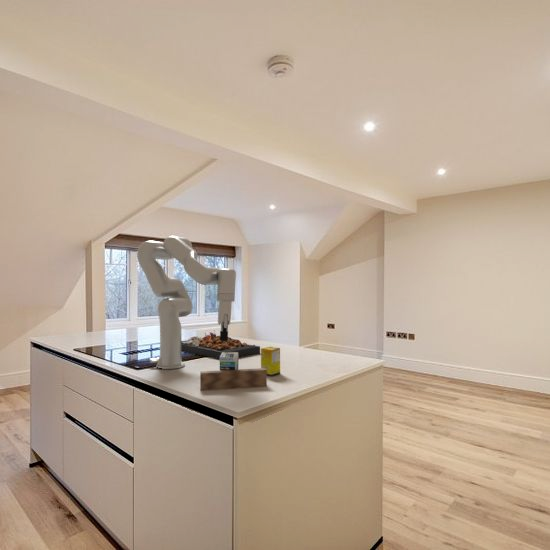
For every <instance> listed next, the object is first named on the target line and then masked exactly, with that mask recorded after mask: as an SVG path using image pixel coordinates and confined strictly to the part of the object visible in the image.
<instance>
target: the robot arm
mask: <svg viewBox="0 0 550 550" xmlns="http://www.w3.org/2000/svg"><path fill="white" fill-rule="evenodd" d="M136 257H137V261H138V264H139V266H140V267H141V269H142V271H143V273H144V275H145V277H146V279H147V281H148V284H149V285H150V288H151V291H152V292H153V294H154V296H155V297H157V298H161V299H162V298H163V299H162V300H160V301H159V303H158V305H157V313H158V318H159V356H158V357H155V358H150V357H149V363H150V364H151V363H152V364H156V365H155V366H156V368H157V367H158V368H157V369H159V368H162V369H161V370H175V369H181V368H183V367H185V366H186V362H184V361H182V351H181V341H182V335H183V333H182V324H181V321H180V318H183V317H187V316H190V314H191V313H192V311H193V303H192V300H191V298H190V295H189V293H188V291H187V290H186V287H185V285H184V283H183V282H182V281H181V280H180V279H179V278H178V277H168V276H167V274H166V272H165V270H164V268H163V266H162V265H161V264H160V263H159V262H158V261H157V260H162V261H165V260H172V259H175V260H176V261H178V263H180V264H181V265H182V266H183V269H184V271H185V273H186V274H187V276H189V277H190V278H191V279H192V280H194V281H195V283H198V284H200V285H204V286H206V285H207V286H208V285H211V286H212V285H213V286H217V291H216V292H217V293H216V301H217V302H218V308H217V311H218V314H217V324H218V325H220V331H219V336H220V341H227V340H228V337H229V326H230V324H231V318H232V308H233V307H232V305H233V304H232V303H233V302H234V303H235V297H236V281H237V280H236V278H237V272H236V270H235V269H233V268H219V267H209V266H207V267H206V266H204V265H202V264H201V263H200V262H199V261H198V260H197V259H198V252H197V251H196V250H195V249H193V244H192V242H191V240H189V238H187V237H181V236H176V235H171V236H168V237H166V238H165V239H164V241H159V240H158V241H156V240H146V241H143V242H142V243H140V244H139V246H138V249H137V253H136Z"/></svg>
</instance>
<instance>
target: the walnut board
mask: <svg viewBox="0 0 550 550" xmlns="http://www.w3.org/2000/svg"><path fill="white" fill-rule="evenodd" d="M199 372H200V376H199V377H200V380H199V385H200V387H199V388H200V391H206V390H205V389H215V390H228V389H229V390H230V389H244V388H259V387H261V388H262V387H267V386H268V385H267V383H268V382H267V381H268V379H267V377H268V376H267V370H266V369H265V368H261V367H259V368H242V369H241V368H238V370H220V369H219V370H205V371H203V370H202V371H199ZM203 389H204V390H203Z"/></svg>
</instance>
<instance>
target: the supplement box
mask: <svg viewBox="0 0 550 550" xmlns="http://www.w3.org/2000/svg"><path fill="white" fill-rule="evenodd" d="M260 368H265V369H266V370H267V377H273V376H277V375H281V348H280V347H275V346H267V347H262V348H261V347H260Z"/></svg>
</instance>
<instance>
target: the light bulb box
mask: <svg viewBox="0 0 550 550" xmlns="http://www.w3.org/2000/svg"><path fill="white" fill-rule="evenodd" d="M220 370H239V358H238V352H222V354H221V356H220V359H219V371H220Z"/></svg>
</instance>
